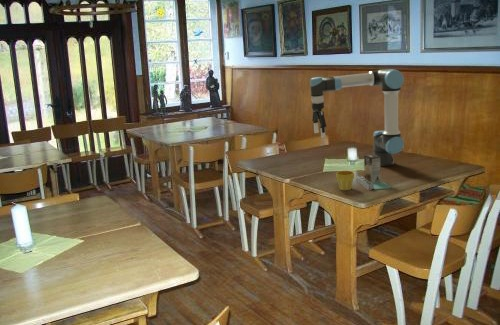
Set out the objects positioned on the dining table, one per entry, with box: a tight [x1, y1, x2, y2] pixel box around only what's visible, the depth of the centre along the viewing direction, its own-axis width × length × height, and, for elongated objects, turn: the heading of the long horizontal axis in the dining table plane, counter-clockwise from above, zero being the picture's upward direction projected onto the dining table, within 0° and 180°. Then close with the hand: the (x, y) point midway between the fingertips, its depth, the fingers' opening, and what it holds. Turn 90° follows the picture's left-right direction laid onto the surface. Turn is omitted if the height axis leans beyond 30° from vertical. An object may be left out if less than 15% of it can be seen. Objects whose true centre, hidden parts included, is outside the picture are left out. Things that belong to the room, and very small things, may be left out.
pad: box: [372, 181, 392, 191], centre depth 296 cm, size 10×12×1 cm
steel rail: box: [356, 175, 375, 191], centre depth 300 cm, size 3×20×3 cm, turn 8°
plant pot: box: [335, 170, 355, 191], centre depth 295 cm, size 10×10×10 cm
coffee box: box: [363, 153, 381, 183], centre depth 305 cm, size 9×6×16 cm
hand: (319, 135), depth 321 cm, fingers open, 13 cm apart
